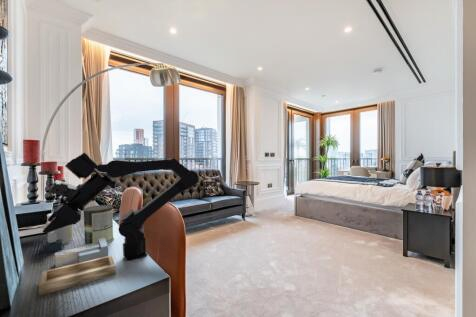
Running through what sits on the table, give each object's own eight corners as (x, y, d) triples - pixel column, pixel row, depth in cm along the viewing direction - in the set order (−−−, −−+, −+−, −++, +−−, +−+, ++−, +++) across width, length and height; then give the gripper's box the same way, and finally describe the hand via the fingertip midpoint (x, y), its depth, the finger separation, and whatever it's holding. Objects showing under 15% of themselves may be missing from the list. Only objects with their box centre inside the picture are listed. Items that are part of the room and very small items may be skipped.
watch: (62, 245, 91) (61, 217, 91) (62, 251, 85) (61, 222, 85) (43, 249, 88) (43, 220, 88) (42, 255, 81) (41, 225, 81)
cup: (69, 244, 92) (68, 214, 92) (44, 247, 90) (43, 216, 89) (75, 237, 100) (74, 210, 100) (52, 240, 97) (51, 212, 97)
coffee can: (78, 247, 89) (77, 211, 89) (93, 238, 99) (92, 205, 99) (106, 245, 89) (105, 209, 89) (118, 236, 100) (117, 204, 100)
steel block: (98, 254, 82) (97, 243, 82) (99, 257, 79) (99, 246, 79) (55, 264, 75) (54, 252, 75) (55, 269, 72) (55, 256, 72)
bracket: (105, 249, 86) (104, 237, 86) (108, 258, 77) (107, 245, 77) (79, 255, 81) (78, 242, 81) (79, 266, 73) (79, 251, 73)
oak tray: (111, 263, 74) (111, 255, 74) (115, 274, 67) (115, 265, 67) (43, 280, 64) (42, 271, 64) (39, 296, 57) (38, 285, 57)
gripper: (72, 166, 78) (28, 200, 74) (67, 178, 63) (11, 221, 58) (98, 188, 84) (59, 221, 79) (99, 203, 68) (51, 245, 63)
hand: (46, 226), depth 69 cm, fingers open, 9 cm apart
